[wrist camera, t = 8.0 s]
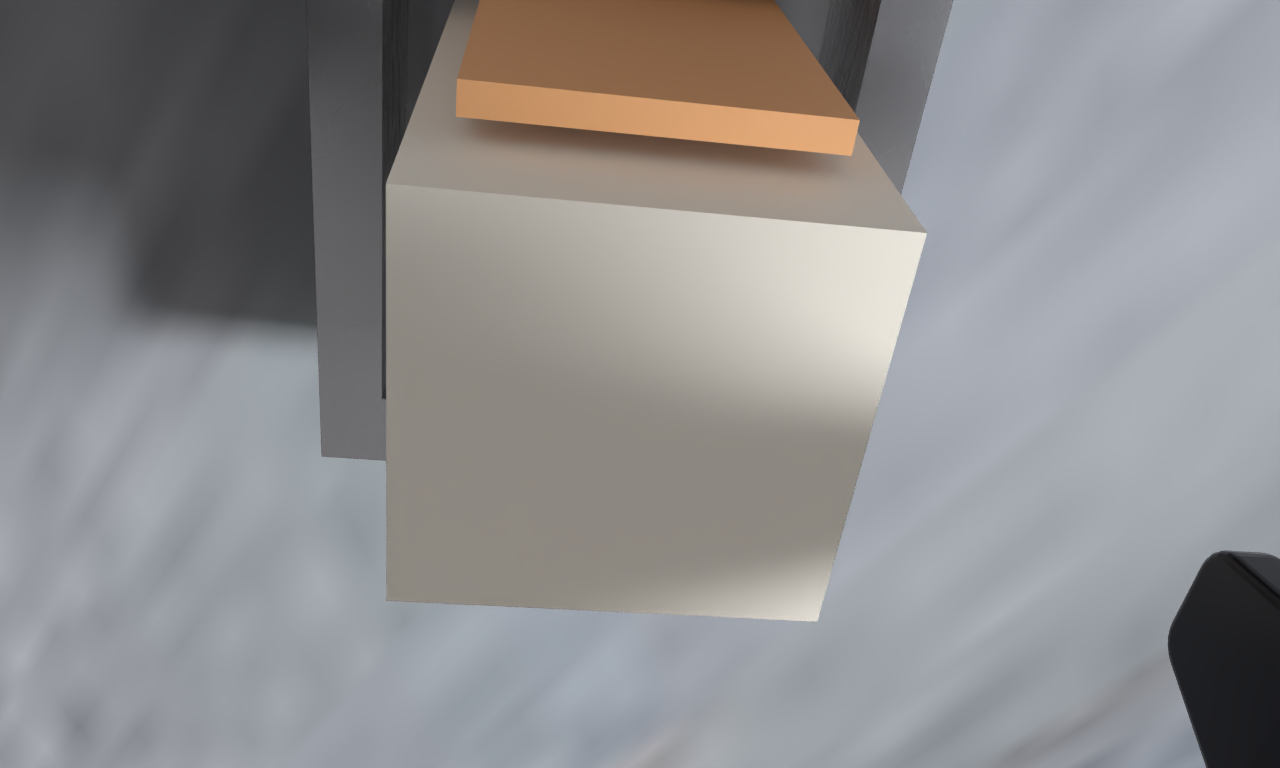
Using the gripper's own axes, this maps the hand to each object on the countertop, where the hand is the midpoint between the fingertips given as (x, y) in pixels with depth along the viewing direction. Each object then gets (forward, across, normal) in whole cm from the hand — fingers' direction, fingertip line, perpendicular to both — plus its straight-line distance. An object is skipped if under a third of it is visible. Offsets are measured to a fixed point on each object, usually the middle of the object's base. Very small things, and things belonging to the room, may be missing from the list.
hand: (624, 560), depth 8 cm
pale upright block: (+8, 0, 0) cm, 8 cm away
